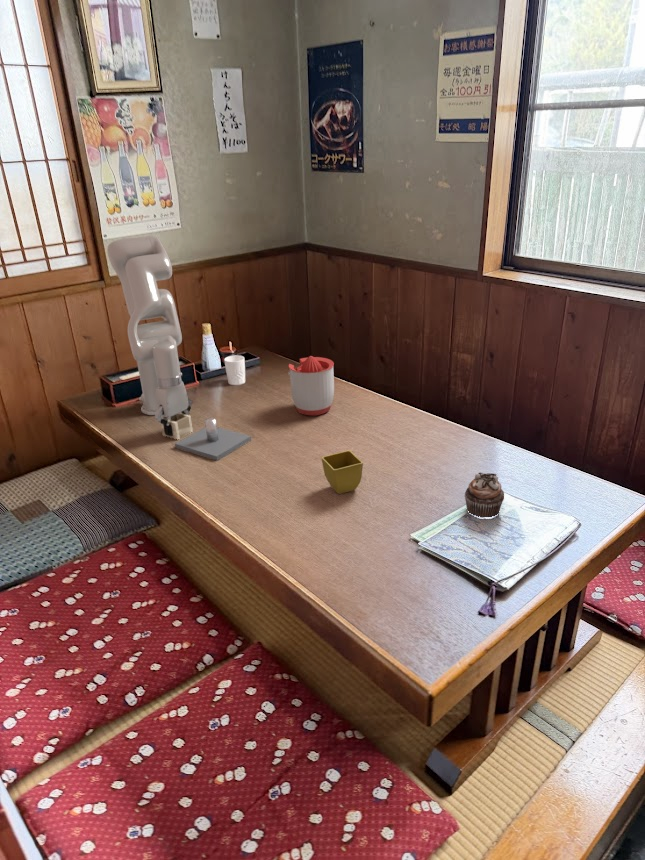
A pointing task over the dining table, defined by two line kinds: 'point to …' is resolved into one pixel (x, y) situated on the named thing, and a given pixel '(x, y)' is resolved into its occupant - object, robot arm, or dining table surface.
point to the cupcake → (484, 495)
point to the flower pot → (343, 471)
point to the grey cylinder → (211, 429)
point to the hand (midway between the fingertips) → (177, 430)
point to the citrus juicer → (312, 385)
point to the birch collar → (179, 426)
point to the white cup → (235, 369)
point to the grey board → (213, 443)
